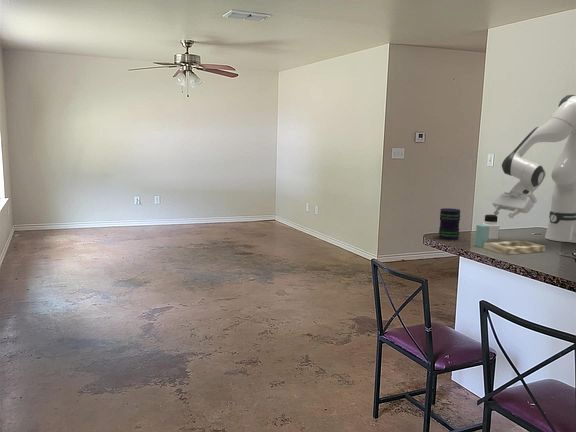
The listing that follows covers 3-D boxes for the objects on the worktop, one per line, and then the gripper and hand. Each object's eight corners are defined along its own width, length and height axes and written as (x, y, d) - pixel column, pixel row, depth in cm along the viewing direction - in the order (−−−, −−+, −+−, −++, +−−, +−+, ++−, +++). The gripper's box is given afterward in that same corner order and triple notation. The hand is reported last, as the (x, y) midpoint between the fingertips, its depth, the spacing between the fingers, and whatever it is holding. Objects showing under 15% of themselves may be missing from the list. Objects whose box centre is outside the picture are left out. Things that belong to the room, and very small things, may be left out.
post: (482, 245, 238) (483, 224, 236) (487, 246, 234) (489, 226, 233) (475, 245, 237) (476, 225, 235) (480, 247, 233) (482, 226, 231)
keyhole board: (521, 245, 238) (522, 240, 237) (544, 251, 225) (545, 246, 224) (483, 248, 231) (484, 242, 231) (505, 254, 218) (505, 249, 218)
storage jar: (447, 241, 247) (448, 211, 244) (434, 237, 256) (436, 208, 253) (463, 239, 250) (464, 210, 248) (450, 236, 259) (451, 207, 257)
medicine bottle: (498, 239, 252) (500, 216, 250) (483, 238, 253) (485, 215, 251) (495, 236, 259) (497, 214, 257) (481, 236, 260) (482, 213, 258)
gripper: (500, 187, 246) (483, 208, 244) (533, 192, 227) (515, 214, 225) (506, 196, 248) (489, 216, 246) (540, 201, 230) (522, 223, 228)
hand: (502, 215), depth 236 cm, fingers open, 8 cm apart
